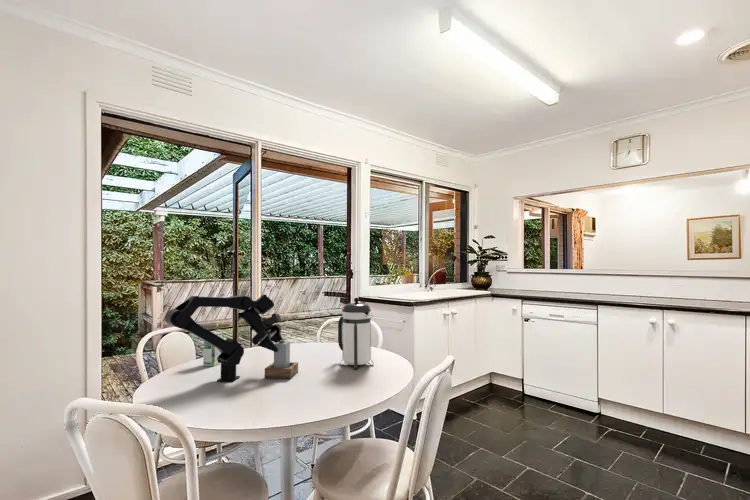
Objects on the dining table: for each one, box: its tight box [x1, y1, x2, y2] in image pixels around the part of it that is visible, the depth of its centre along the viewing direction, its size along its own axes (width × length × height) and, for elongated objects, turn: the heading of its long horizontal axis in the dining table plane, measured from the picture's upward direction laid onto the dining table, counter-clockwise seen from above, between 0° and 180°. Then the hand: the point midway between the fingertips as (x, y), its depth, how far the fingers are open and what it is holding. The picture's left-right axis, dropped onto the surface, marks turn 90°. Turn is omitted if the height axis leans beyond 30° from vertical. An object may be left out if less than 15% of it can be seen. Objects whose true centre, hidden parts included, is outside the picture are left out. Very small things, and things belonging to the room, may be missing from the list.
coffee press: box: [337, 297, 375, 371], centre depth 172 cm, size 17×16×30 cm
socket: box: [264, 361, 299, 380], centre depth 156 cm, size 10×10×4 cm
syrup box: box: [202, 331, 223, 367], centre depth 174 cm, size 6×6×14 cm
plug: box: [273, 339, 291, 368], centre depth 156 cm, size 5×5×13 cm
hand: (281, 348), depth 156 cm, fingers open, 9 cm apart
